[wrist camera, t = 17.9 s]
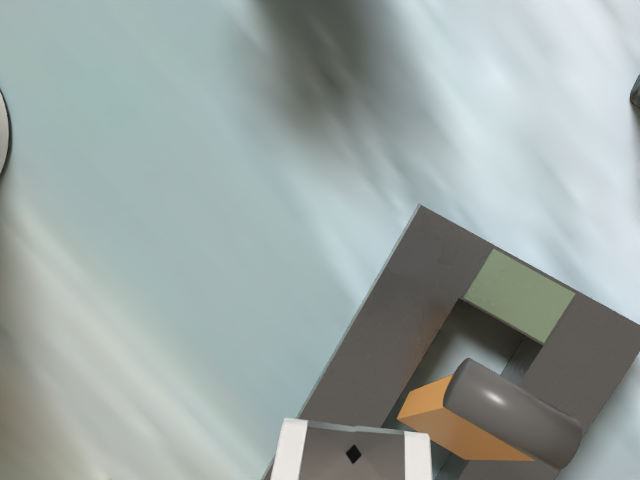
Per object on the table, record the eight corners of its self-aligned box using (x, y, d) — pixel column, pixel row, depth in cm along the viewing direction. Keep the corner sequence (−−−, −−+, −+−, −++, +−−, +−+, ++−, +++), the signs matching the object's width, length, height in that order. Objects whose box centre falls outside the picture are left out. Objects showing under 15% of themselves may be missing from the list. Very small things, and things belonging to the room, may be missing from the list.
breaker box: (446, 590, 41) (452, 637, 36) (262, 477, 42) (246, 509, 38) (625, 317, 37) (655, 333, 33) (418, 203, 39) (421, 205, 34)
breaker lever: (467, 466, 35) (570, 471, 24) (390, 421, 35) (455, 404, 24) (482, 429, 36) (588, 416, 25) (407, 385, 36) (477, 353, 25)
